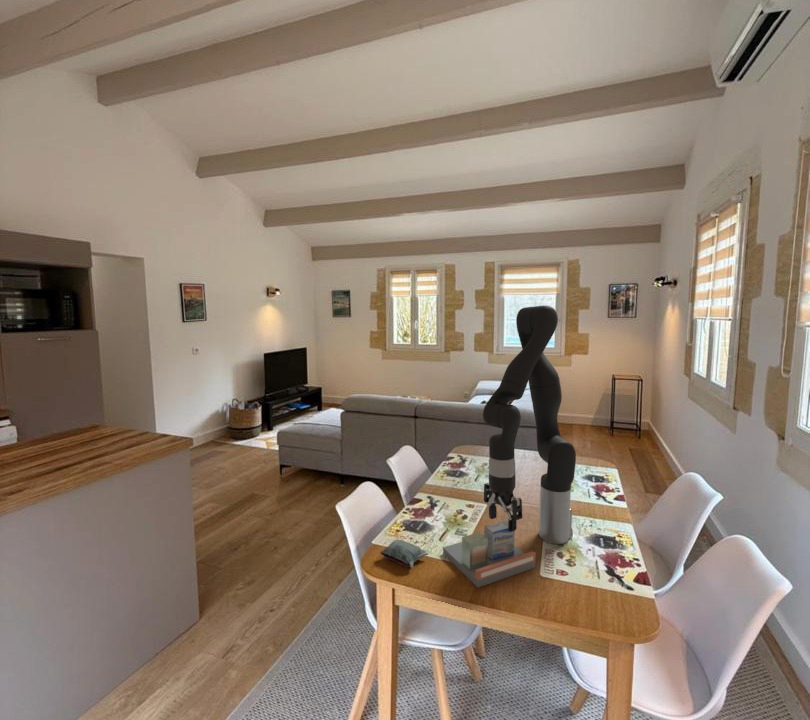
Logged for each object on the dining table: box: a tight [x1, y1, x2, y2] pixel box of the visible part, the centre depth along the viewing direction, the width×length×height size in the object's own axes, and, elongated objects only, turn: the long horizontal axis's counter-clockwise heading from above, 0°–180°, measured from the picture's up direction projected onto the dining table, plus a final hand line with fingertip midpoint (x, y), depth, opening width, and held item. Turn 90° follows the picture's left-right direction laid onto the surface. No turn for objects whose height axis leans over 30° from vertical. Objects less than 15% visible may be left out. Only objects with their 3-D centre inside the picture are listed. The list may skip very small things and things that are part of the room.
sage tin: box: [461, 531, 488, 571], centre depth 124 cm, size 6×4×8 cm
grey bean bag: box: [380, 538, 429, 569], centre depth 130 cm, size 9×12×5 cm
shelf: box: [442, 541, 536, 588], centre depth 129 cm, size 20×18×4 cm
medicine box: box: [483, 520, 516, 560], centre depth 129 cm, size 8×4×9 cm, turn 113°
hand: (502, 524), depth 128 cm, fingers open, 8 cm apart
